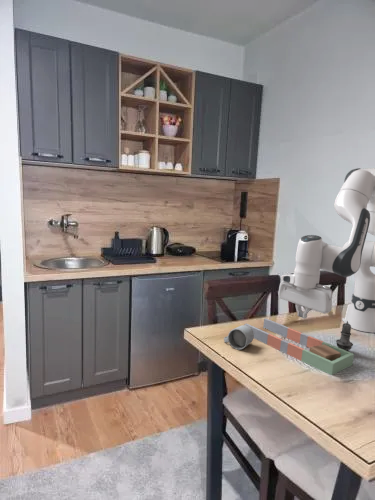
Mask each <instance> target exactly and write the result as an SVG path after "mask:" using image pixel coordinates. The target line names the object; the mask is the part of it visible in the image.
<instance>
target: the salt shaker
mask: <svg viewBox="0 0 375 500" xmlns="http://www.w3.org/2000/svg"><path fill="white" fill-rule="evenodd" d="M351 332H352V328H351V325H350V324H349V323H348V321H347V323H345V322H344V323H343V324H342V328H341V331H340V338H339V339H336V340H335V343H336V347H338V348H341V349H343V350H346V351H348V352H351V351H350V350H351V349H352V348H353V346H354V343H353V342H351V340H350V339H351V336H352V333H351Z"/></svg>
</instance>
